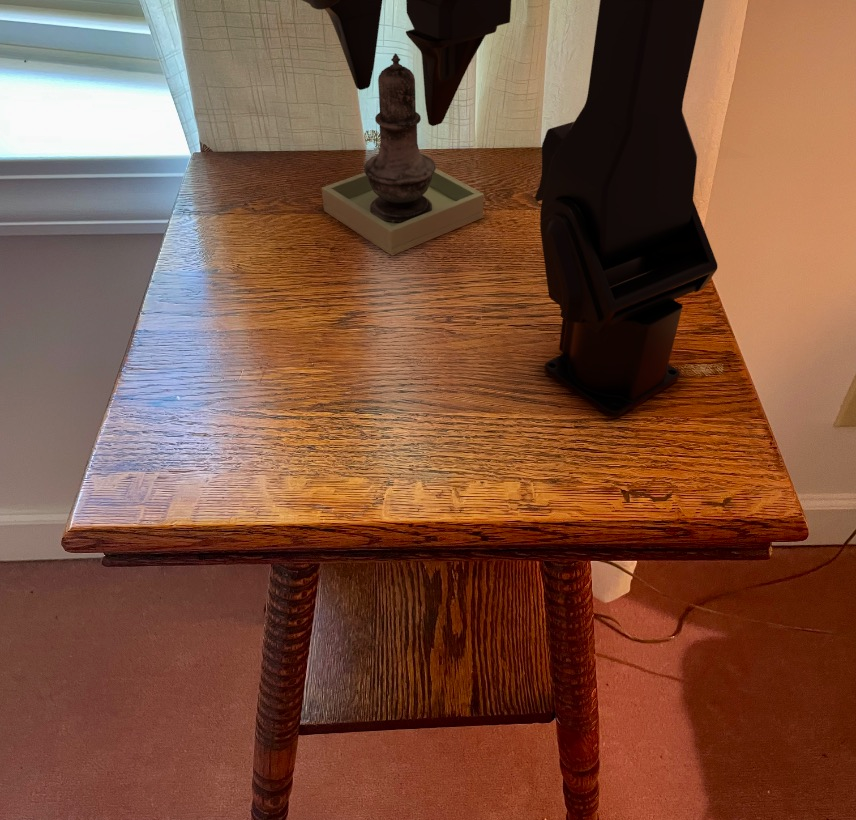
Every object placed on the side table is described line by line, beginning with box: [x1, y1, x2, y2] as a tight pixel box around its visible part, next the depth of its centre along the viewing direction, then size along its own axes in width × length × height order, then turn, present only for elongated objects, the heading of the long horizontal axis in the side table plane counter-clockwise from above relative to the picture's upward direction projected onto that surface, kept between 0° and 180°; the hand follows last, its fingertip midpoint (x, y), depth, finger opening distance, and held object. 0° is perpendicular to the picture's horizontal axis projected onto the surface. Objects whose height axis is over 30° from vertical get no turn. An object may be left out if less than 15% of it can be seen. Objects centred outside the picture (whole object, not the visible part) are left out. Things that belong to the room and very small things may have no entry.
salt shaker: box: [363, 53, 437, 223], centre depth 65 cm, size 6×6×12 cm
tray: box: [321, 168, 485, 256], centre depth 69 cm, size 10×10×2 cm
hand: (397, 105), depth 64 cm, fingers open, 9 cm apart
